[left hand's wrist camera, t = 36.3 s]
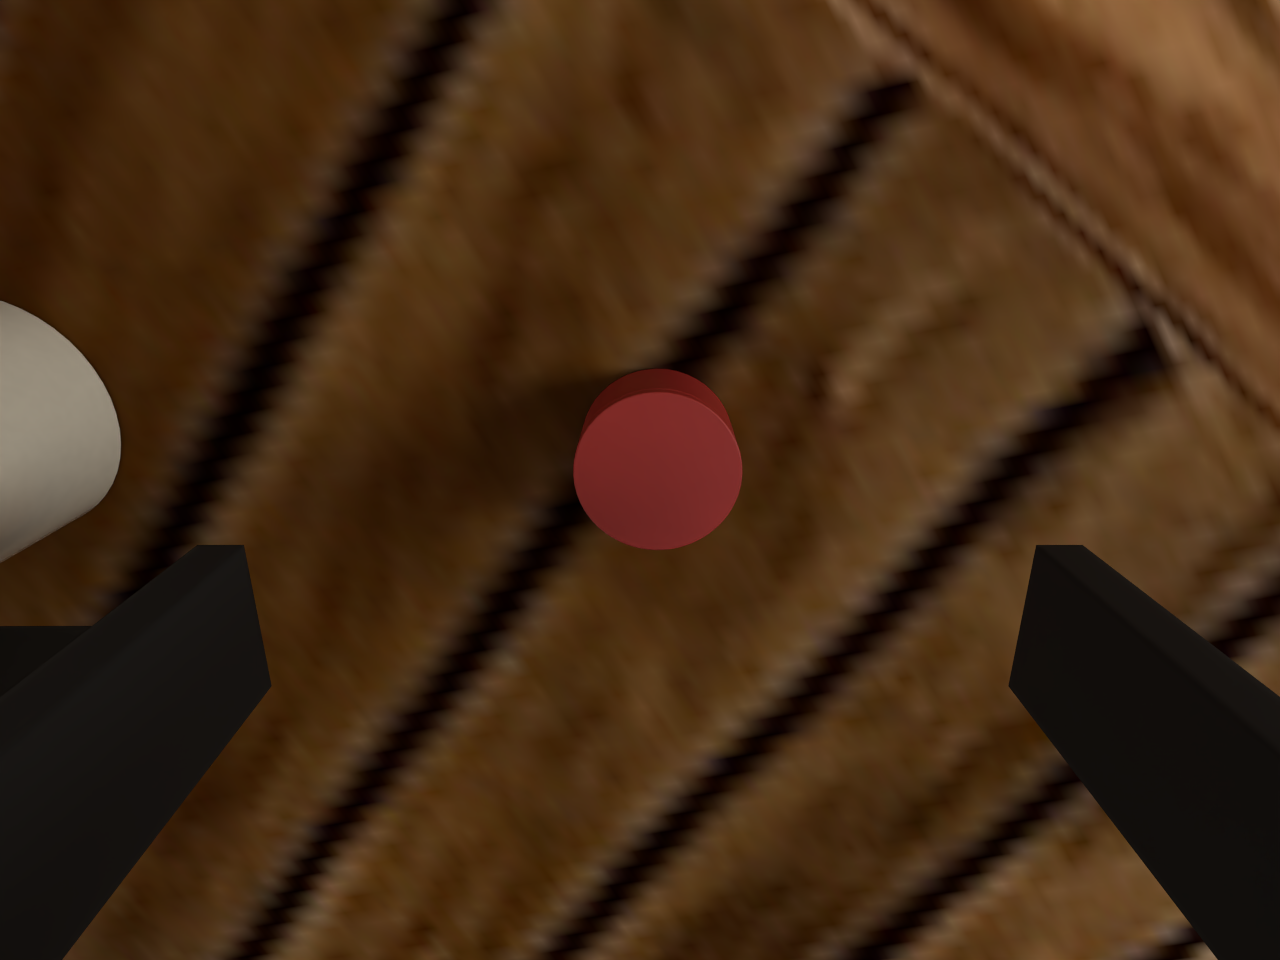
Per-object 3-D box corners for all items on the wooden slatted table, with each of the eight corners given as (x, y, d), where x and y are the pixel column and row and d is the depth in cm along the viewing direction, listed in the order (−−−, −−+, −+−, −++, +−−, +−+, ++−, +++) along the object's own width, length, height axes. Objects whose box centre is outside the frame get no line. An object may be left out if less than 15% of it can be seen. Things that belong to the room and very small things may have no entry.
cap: (601, 350, 19) (594, 372, 17) (751, 389, 19) (764, 416, 17) (567, 491, 20) (556, 529, 18) (708, 526, 20) (714, 566, 18)
